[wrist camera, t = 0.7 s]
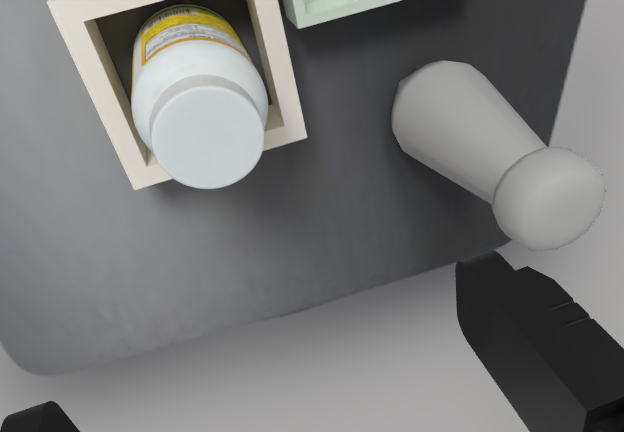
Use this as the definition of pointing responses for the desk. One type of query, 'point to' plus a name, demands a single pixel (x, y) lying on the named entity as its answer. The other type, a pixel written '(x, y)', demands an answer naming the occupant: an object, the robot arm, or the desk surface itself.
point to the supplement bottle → (197, 97)
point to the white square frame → (113, 100)
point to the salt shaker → (496, 155)
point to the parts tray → (326, 9)
